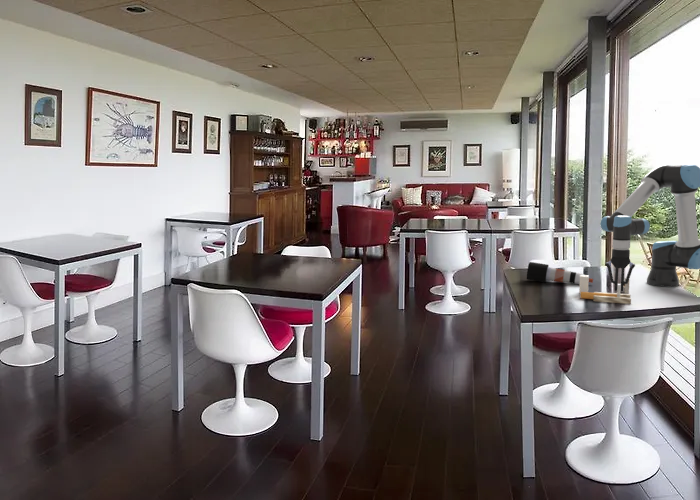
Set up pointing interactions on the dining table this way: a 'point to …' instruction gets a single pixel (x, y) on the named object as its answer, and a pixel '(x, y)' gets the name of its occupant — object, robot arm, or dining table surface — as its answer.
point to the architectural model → (626, 287)
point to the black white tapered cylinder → (552, 274)
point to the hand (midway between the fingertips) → (618, 297)
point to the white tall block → (583, 283)
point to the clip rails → (613, 298)
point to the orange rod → (591, 295)
